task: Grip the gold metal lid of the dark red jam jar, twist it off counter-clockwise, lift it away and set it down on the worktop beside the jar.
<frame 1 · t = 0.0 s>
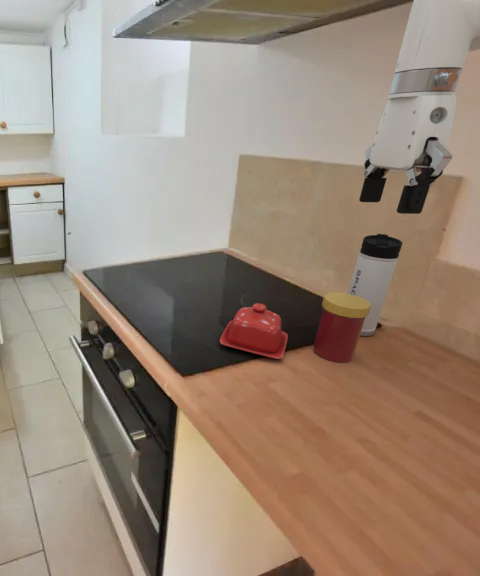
hand: (387, 207, 61), 28 cm above the worktop, tool pointing down, fingers open, 9 cm apart
lid: (346, 301, 68), point 11 cm above the worktop, screwed on, not yet turned
butter dish: (252, 344, 75), on the worktop
travel mug: (356, 329, 81), on the worktop
jam jar: (332, 353, 72), on the worktop
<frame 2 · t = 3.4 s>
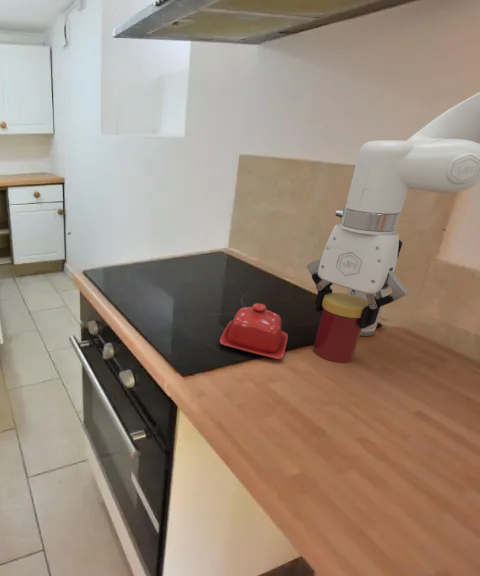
hand: (342, 317, 69), 8 cm above the worktop, tool pointing down, fingers closed on lid, 7 cm apart
lid: (346, 301, 68), point 11 cm above the worktop, screwed on, not yet turned, touching gripper
everything else where it was.
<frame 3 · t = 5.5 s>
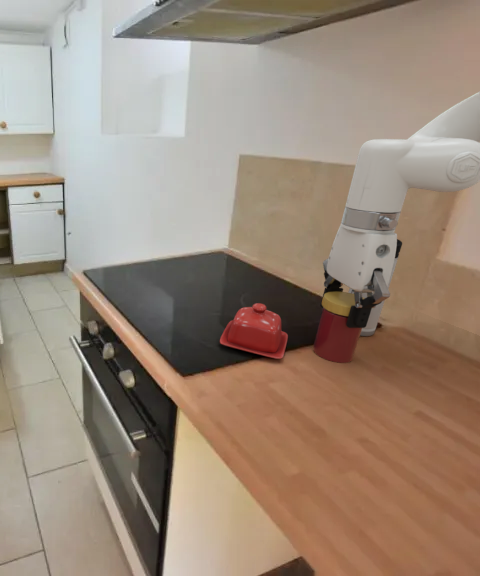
hand: (341, 316, 69), 8 cm above the worktop, tool pointing down, fingers closed on lid, 7 cm apart
lid: (346, 300, 68), point 11 cm above the worktop, off its thread, touching gripper
everything else where it was.
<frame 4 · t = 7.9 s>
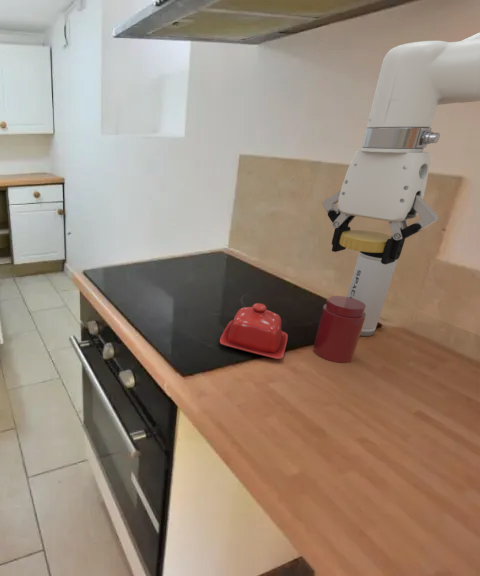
hand: (362, 255, 63), 20 cm above the worktop, tool pointing down, fingers closed on lid, 7 cm apart
lid: (366, 237, 62), point 23 cm above the worktop, off its thread, touching gripper
everything else where it was.
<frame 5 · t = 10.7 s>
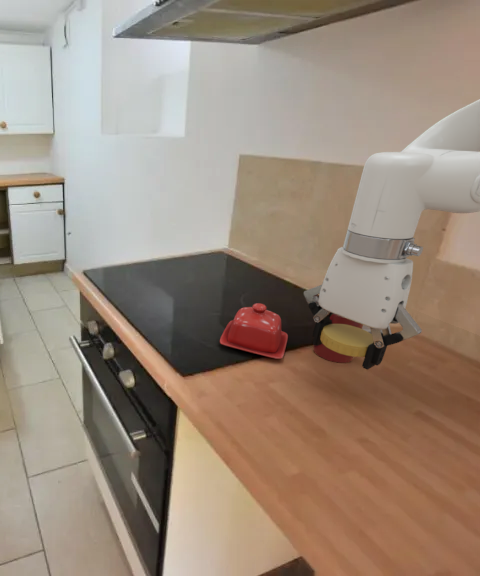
hand: (343, 353, 60), 6 cm above the worktop, tool pointing down, fingers closed on lid, 7 cm apart
lid: (348, 336, 59), point 10 cm above the worktop, off its thread, touching gripper
everything else where it was.
when the fingers open (1 cm above the worktop, at t = 12.8 s): lid drops 3 cm, point 1 cm above the worktop.
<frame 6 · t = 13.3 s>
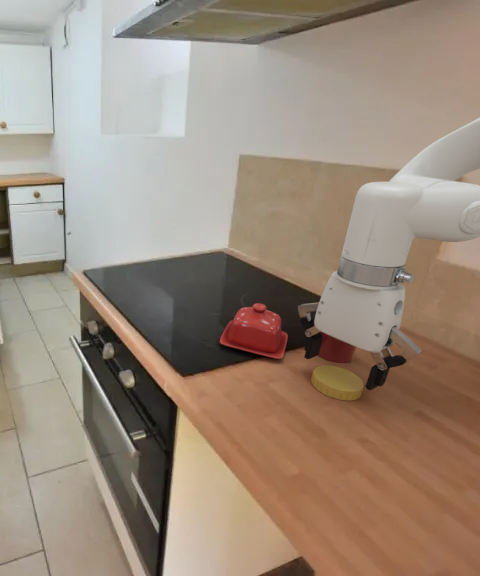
hand: (340, 370, 61), 3 cm above the worktop, tool pointing down, fingers open, 9 cm apart
lid: (337, 379, 62), point 1 cm above the worktop, off its thread
everything else where it was.
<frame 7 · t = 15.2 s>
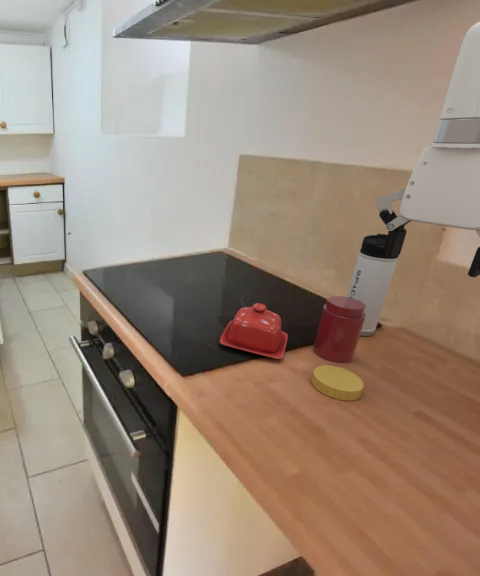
hand: (430, 264, 54), 21 cm above the worktop, tool pointing down, fingers open, 9 cm apart
nothing on the worktop moved.
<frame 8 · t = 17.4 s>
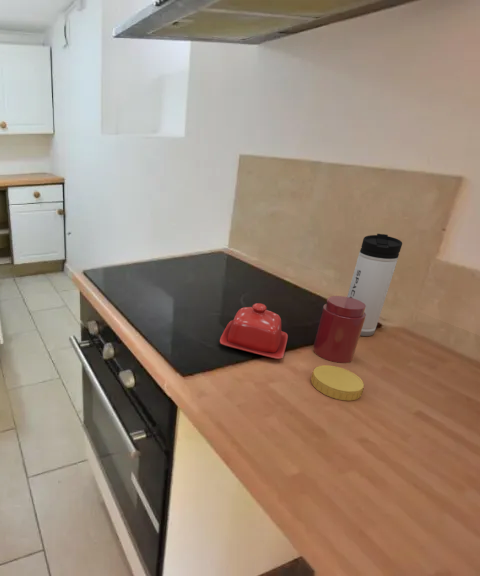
nothing on the worktop moved.
at the end: lid came off its thread; lid point 1.5 cm above the worktop; the gripper is holding nothing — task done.
